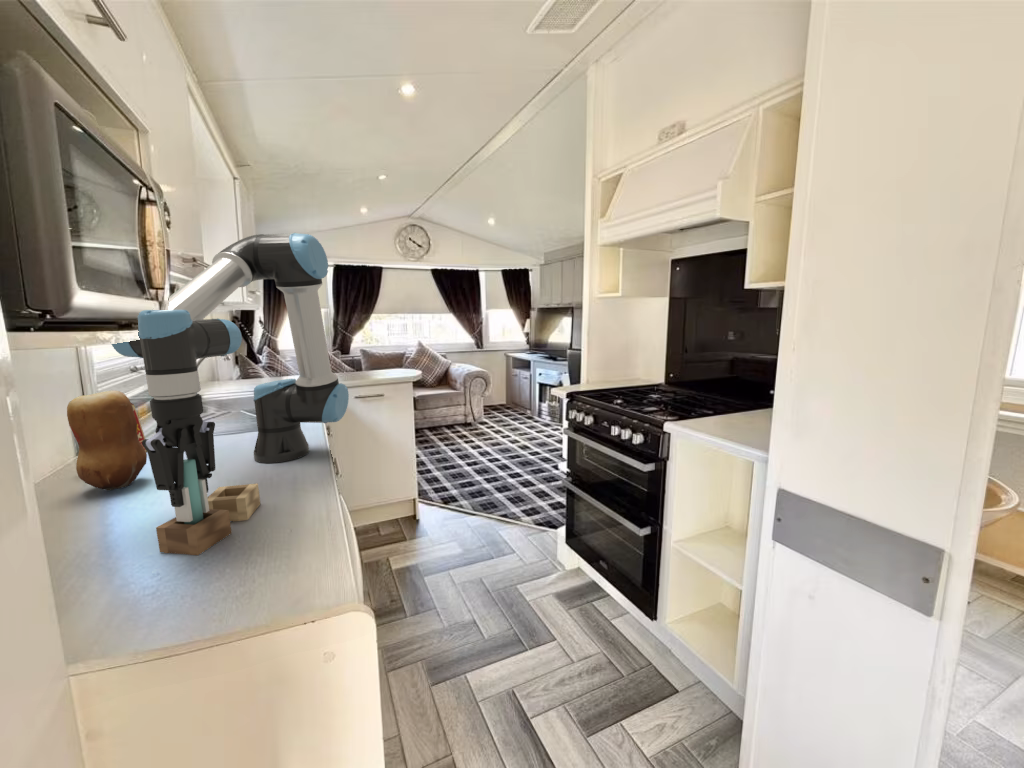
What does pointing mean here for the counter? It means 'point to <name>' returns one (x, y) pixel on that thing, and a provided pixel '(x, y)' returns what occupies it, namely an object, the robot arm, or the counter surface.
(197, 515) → the teal cylindrical rod
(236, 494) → the light wooden square frame
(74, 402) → the butternut squash
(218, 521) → the brown wooden square frame
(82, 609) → the counter surface
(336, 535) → the counter surface
